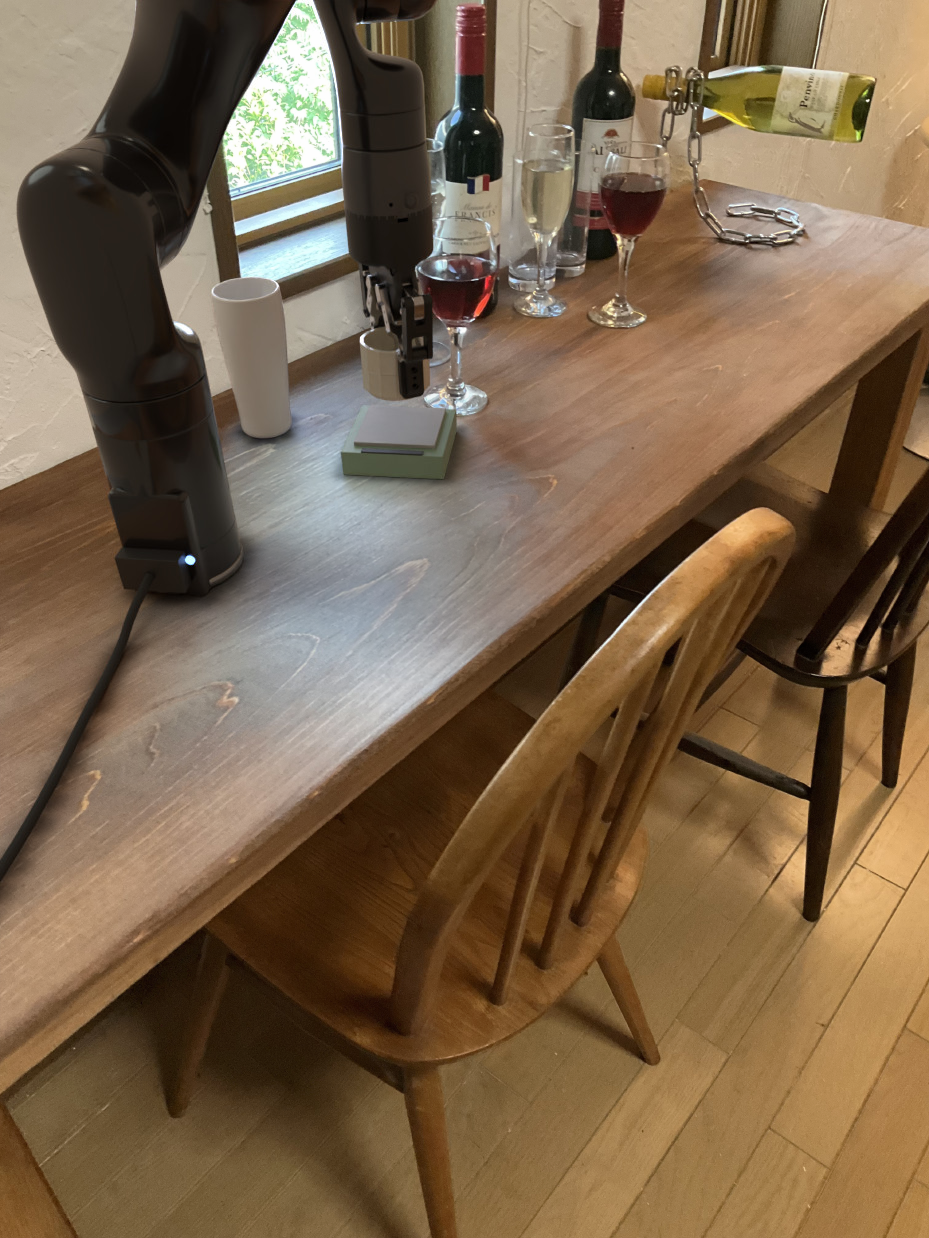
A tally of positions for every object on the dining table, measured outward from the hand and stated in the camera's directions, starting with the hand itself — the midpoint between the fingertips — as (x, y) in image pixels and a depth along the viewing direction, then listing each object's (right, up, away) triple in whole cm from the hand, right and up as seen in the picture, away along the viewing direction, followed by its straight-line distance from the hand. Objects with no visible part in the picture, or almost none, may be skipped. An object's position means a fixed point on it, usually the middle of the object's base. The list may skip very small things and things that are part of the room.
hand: (399, 380), depth 92 cm
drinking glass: (-15, -3, +10) cm, 18 cm away
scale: (0, -6, +5) cm, 8 cm away
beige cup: (0, -1, 0) cm, 1 cm away
